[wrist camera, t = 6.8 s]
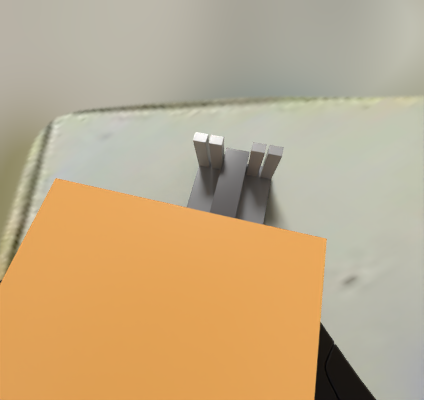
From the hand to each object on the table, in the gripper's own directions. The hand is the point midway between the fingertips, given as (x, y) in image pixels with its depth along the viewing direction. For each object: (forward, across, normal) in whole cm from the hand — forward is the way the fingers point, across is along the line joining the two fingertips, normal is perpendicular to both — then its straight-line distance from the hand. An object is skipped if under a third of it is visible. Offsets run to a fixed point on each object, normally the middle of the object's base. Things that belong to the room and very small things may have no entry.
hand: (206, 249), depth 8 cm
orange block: (+3, 0, +5) cm, 6 cm away
